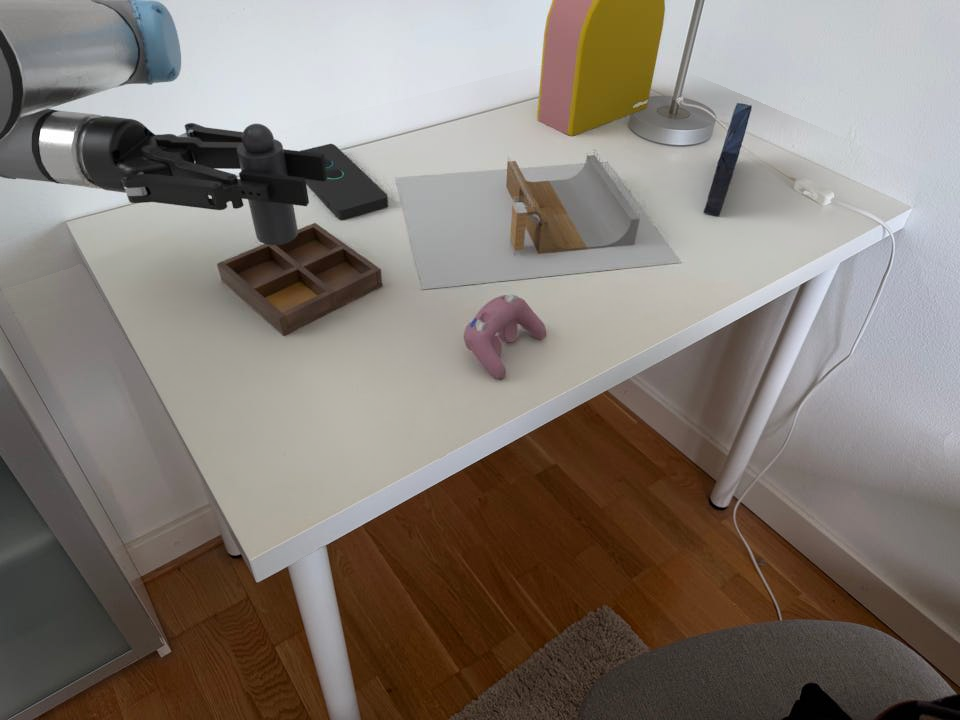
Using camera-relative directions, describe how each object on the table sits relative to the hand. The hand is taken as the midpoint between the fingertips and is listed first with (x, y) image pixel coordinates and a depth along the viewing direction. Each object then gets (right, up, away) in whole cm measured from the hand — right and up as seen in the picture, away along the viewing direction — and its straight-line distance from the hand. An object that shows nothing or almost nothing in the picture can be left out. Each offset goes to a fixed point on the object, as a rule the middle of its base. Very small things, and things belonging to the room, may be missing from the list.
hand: (314, 179), depth 69 cm
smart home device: (-5, +9, +36) cm, 38 cm away
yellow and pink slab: (+38, +27, +58) cm, 74 cm away
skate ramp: (+23, +3, +31) cm, 39 cm away
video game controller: (+19, -17, +9) cm, 28 cm away
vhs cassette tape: (+54, +9, +39) cm, 67 cm away
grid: (-6, -8, +18) cm, 20 cm away
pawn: (-5, -4, +6) cm, 9 cm away
